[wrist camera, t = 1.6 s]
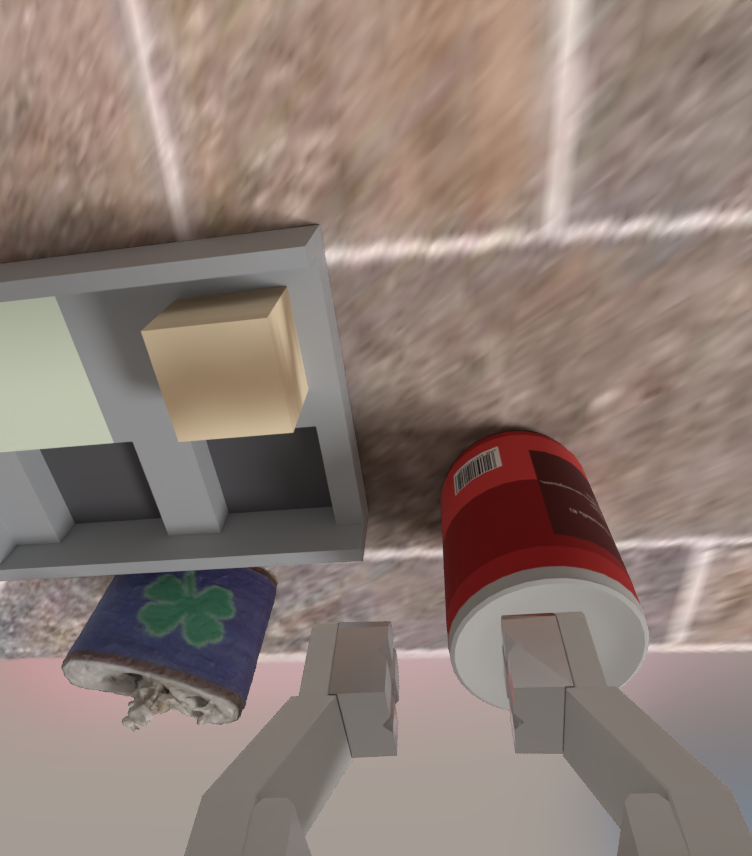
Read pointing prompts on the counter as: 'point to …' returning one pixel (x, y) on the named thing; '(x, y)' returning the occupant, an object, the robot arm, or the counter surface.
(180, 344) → the maple block
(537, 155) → the counter surface
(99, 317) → the grey compartment tray
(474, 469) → the canned food
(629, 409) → the counter surface
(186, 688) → the flask
